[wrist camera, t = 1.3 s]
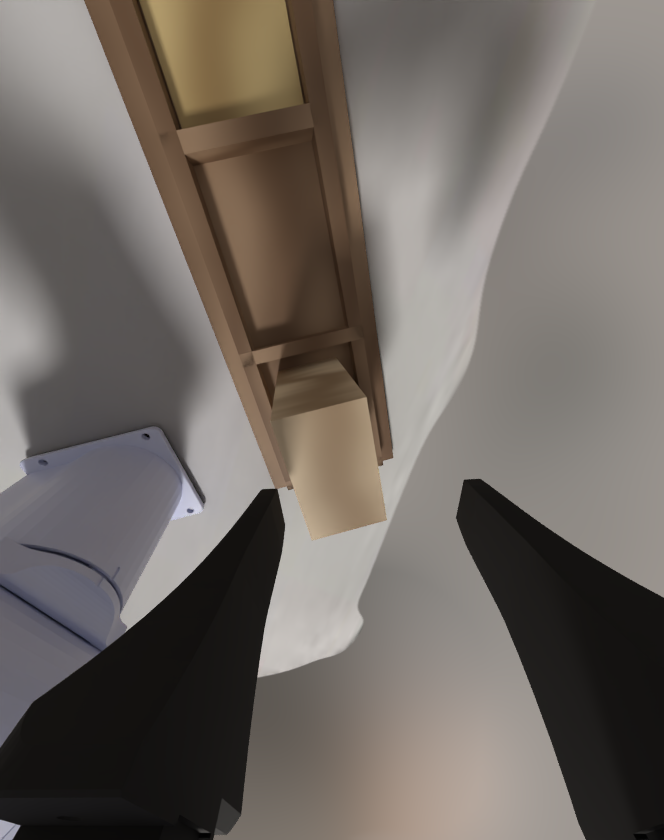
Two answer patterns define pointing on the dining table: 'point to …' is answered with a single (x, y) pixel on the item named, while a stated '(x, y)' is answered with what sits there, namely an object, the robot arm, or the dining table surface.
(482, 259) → the dining table surface
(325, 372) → the plain beige carton
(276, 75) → the brown framed tray
